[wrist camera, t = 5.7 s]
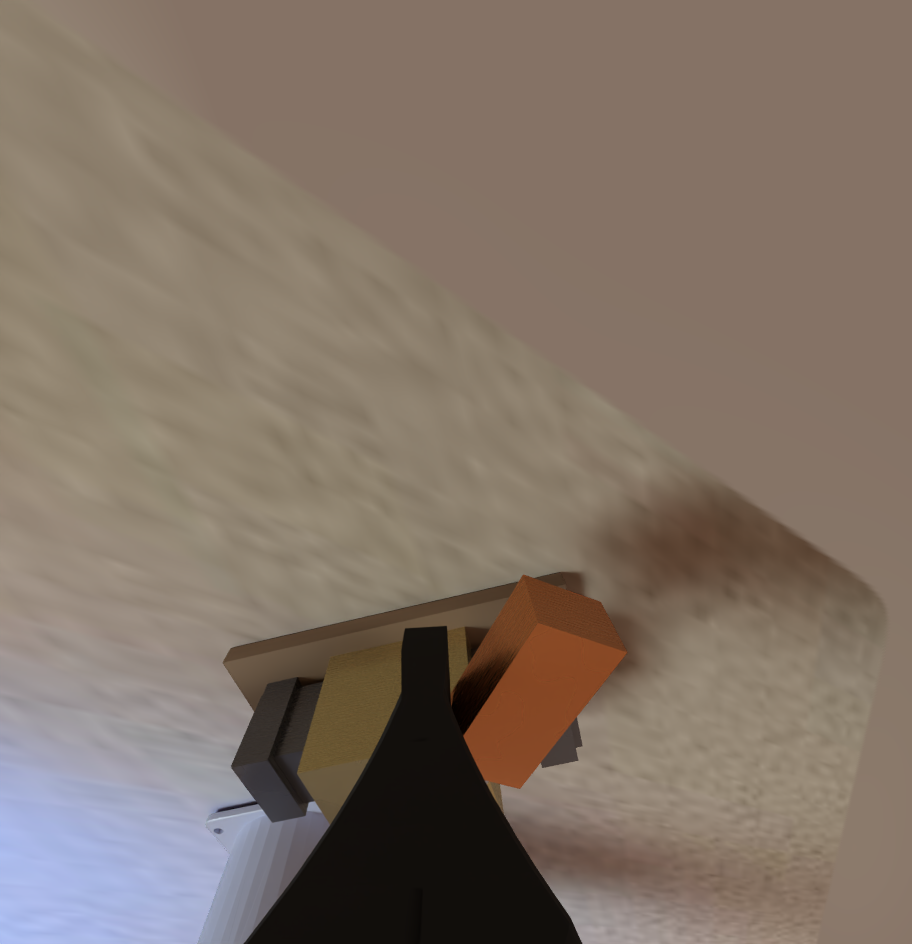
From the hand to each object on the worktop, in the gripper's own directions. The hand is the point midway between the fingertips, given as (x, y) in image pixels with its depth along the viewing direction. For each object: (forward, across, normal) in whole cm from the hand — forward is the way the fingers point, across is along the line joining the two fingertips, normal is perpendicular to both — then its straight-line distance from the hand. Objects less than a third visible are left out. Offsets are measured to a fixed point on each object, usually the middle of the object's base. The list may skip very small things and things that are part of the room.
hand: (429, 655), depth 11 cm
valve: (+6, +1, +7) cm, 10 cm away
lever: (0, -1, +3) cm, 3 cm away
